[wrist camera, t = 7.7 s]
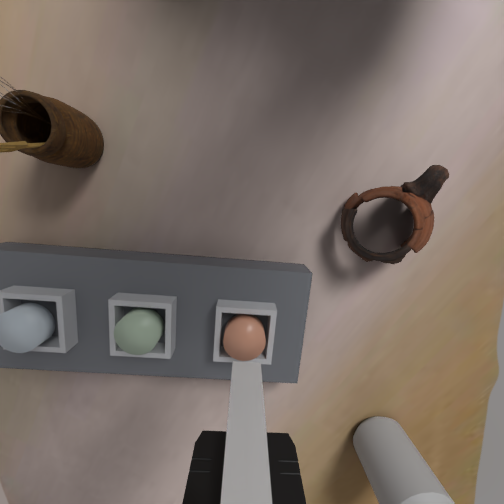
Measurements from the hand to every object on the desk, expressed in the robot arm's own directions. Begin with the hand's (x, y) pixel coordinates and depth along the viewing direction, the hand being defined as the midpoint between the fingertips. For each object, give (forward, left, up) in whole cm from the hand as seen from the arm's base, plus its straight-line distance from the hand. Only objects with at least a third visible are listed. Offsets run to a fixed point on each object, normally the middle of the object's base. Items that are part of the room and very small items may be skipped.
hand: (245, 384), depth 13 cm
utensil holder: (-14, -20, -19) cm, 31 cm away
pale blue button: (+5, -22, -13) cm, 26 cm away
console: (+5, -11, -19) cm, 22 cm away
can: (+23, +21, -19) cm, 36 cm away
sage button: (+5, -11, -14) cm, 18 cm away
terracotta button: (+5, 0, -14) cm, 14 cm away
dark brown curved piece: (-9, +16, -19) cm, 27 cm away
